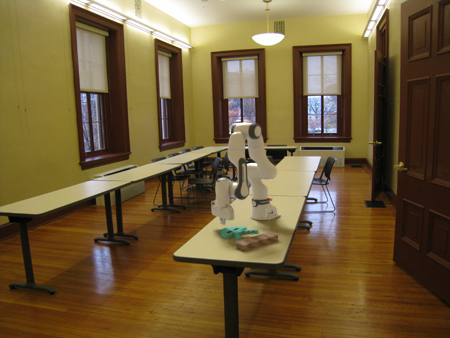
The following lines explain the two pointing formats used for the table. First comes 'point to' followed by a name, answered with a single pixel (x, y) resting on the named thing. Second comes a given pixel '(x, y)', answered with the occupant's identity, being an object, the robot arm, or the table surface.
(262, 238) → the laid plank
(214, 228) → the table surface
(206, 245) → the table surface
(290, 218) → the table surface
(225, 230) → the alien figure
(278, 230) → the table surface
